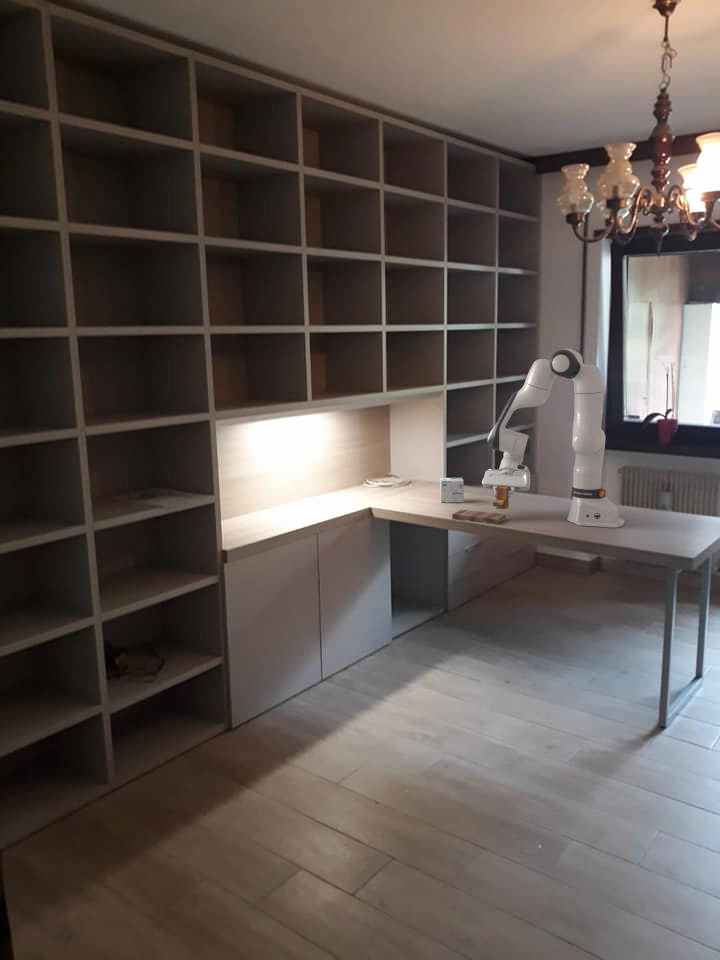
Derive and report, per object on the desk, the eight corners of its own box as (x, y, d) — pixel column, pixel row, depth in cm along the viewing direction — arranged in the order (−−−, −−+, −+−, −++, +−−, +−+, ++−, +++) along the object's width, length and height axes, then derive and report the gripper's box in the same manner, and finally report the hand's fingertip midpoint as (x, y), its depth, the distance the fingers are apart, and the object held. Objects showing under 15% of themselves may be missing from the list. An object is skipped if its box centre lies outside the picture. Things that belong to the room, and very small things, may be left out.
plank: (505, 519, 326) (505, 514, 325) (497, 524, 317) (498, 519, 317) (461, 514, 335) (461, 509, 335) (452, 518, 327) (452, 514, 326)
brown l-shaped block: (508, 507, 329) (508, 486, 327) (501, 512, 321) (501, 490, 319) (499, 506, 331) (499, 485, 329) (491, 511, 323) (491, 489, 321)
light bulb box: (462, 500, 363) (462, 477, 361) (463, 503, 356) (464, 480, 354) (439, 500, 363) (439, 477, 361) (440, 503, 356) (440, 480, 354)
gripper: (484, 464, 336) (476, 490, 330) (531, 467, 326) (523, 494, 320) (488, 472, 341) (480, 499, 334) (534, 475, 331) (526, 502, 324)
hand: (502, 496), depth 327 cm, fingers closed on brown l-shaped block, 4 cm apart
